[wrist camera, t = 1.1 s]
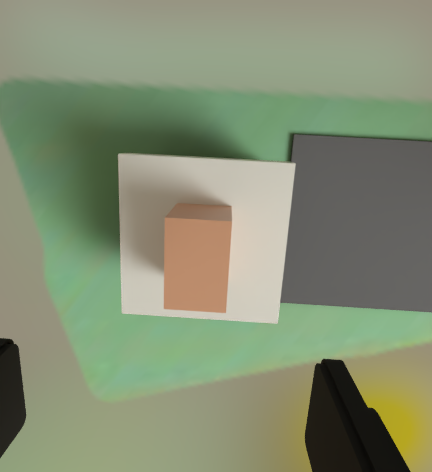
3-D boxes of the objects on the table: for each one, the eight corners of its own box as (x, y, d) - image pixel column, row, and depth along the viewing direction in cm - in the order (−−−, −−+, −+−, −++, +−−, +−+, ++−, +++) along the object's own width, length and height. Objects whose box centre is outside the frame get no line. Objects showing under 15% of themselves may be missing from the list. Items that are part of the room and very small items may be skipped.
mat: (478, 144, 31) (481, 144, 31) (436, 310, 36) (439, 312, 36) (293, 134, 32) (294, 134, 31) (275, 300, 36) (276, 302, 36)
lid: (290, 161, 26) (312, 168, 19) (274, 309, 30) (288, 362, 23) (127, 152, 26) (90, 156, 19) (129, 300, 30) (99, 349, 23)
